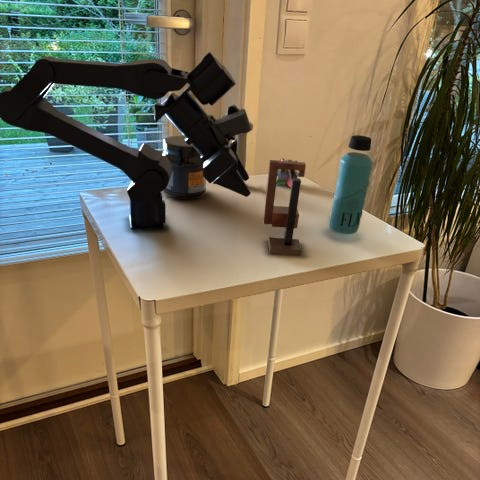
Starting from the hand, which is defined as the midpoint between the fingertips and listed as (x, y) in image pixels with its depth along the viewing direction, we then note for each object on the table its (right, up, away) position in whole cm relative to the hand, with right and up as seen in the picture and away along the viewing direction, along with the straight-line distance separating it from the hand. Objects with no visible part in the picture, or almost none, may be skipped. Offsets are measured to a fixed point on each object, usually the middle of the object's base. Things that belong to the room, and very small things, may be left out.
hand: (248, 187), depth 99 cm
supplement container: (-15, +4, +21) cm, 26 cm away
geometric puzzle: (+10, +9, +32) cm, 34 cm away
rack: (+7, -9, +5) cm, 12 cm away
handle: (-3, +8, +29) cm, 30 cm away
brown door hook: (+7, -6, +4) cm, 10 cm away
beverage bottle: (+20, -8, +8) cm, 23 cm away
